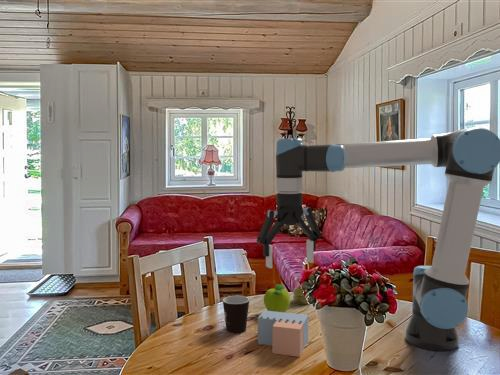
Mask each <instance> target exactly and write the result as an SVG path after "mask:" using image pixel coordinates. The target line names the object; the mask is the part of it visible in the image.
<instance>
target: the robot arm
mask: <svg viewBox="0 0 500 375" xmlns="http://www.w3.org/2000/svg"><path fill="white" fill-rule="evenodd" d="M275 150H276V151H275V169H276V170H275V174H276V176H275V178H276V179H275V180H276V181H275V182H276V183H275V184H276V187H275V188H276V189H275V190H276V192H277V193H276V194H275V195H276V210H272V209H271V210H270V209H267V210H266V216H265V219H264V222H263V224H262V226H261V229H260V231H259V233H258V236H257V238H256V243H258V244H261V245H262V254H263V256H264V257H265V267H266V268H268V269H273V245H272V244H271V243H272V241H273V240H274V238H275V237H276V236H277V234H278V233H279V232H280V231H281V229H282V228H283V227H284V225H286V226H288V225H297V226H299V228H300V229H301V230H302V232H303V233H304V234H305V235H306V237H307V238H308V239H306V262H308V263H309V264H314V261H315V260H314V257H315V256H314V255H315V254H314V252H316V248H317V246H316V242H317V241H318V240H319V239H321V238H322V233H321V231H320V229H319V226H318V224H317V221H316V220H315V218H314V215H313V209H312V207H308V206H305V207H304V208H303V204H304V202H303V201H304V200H303V198H304V197H303V193H302V192H303V184H304V183H303V172H321V173H322V172H325V173H326V172H327V173H328V172H331V173H335V172H343V171H344V170H345V169H355V168H360V169H361V168H376V167H378V168H379V167H396V166H417V165H431V166H433V167H434V168H445V171H444V176H445V178H446V179H447V180H448V186H447V191H446V195H445V201H444V205H443V206H444V207H443V211H442V215H441V220H440V223H439V224H440V225H439V230H438V235H437V239H436V244H435V248H434V253H433V258H432V263H431V265H418V266H415V267H414V269H413V274H412V277H413V280H412V303H411V304H412V306H411V307H412V312H411V316H410V318H409V322H408V323H407V326H406V329H405V340H406V341H407V342H408V343H409V344H411V345H412V346H414V347H417V348H421V349H423V350H429V351H437V352H438V351H439V352H444V351H443V350H446V351H452V350H454V348H455V349H456V348H458V346H459V341H460V340H459V334H458V332H457V331H458V330H457V327H458V326H459V325H461V324H463V322H464V321H465V320H466V318H467V317H468V313H469V304H468V301H467V295H468V290H469V285H470V280H469V279H468V277H467V275H466V271H467V265H468V261H469V258H470V257H469V256H470V252H471V247H472V242H473V238H474V234H475V229H476V224H477V220H478V214H479V210H480V206H481V200H482V196H483V193H484V188H485V187H486V186H488V185H490V184H491V183H492V180H493V176H494V171H495V169H496V167H498V165H499V164H500V138H499V136H498V135H497V134H495V132H493V131H492V130H490V129H487V128H484V127H481V126H478V127H477V126H472V127H471V126H470V127H468V128H462V129H457V130H455V131H451V132H446V133H440V134H432V135H431V137H429V138H428V137H427V138H416V139H415V138H414V139H399V140H384V141H383V140H381V141H368V142H354V143H339V144H338V143H336V144H316V145H315V144H314V145H308V144H307V145H306V144H303V139H302V138H279V139H278V140H277V141H276V148H275ZM303 215H304V217H305V219H306V220H307V221H306V222H307V224H308V225H309V226H308V225H307V224H306V223H305V220H304V219H303V218H302V216H303ZM276 216H277V218H275V217H276ZM274 219H276V220H275V221H274ZM273 222H274V224H273ZM272 225H273V226H272ZM451 349H452V350H451Z"/></svg>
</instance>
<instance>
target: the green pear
mask: <svg viewBox="0 0 500 375" xmlns="http://www.w3.org/2000/svg"><path fill="white" fill-rule="evenodd" d="M299 278H300V276H298V277H296V278H295V280H296V281H297V282H298V283H299ZM292 293H293V295H292V302H293V303H294V304H297V305H303V306H304V305H305V306H306V305H309V304H308V303H307V300H306V298H305V296H304V293H303V291H302V289H301V287H300V285H299V284H298V285H297V286H296V287H294V288H293V290H292Z"/></svg>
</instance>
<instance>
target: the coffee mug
mask: <svg viewBox="0 0 500 375" xmlns="http://www.w3.org/2000/svg"><path fill="white" fill-rule="evenodd" d="M222 305H223V313H224V314H223V315H224V321H225V322H224V323H225V329H226V332H227V333H229V334H234V335H235V334H243V333H245V332H246V330H247V323H248V317H249V316H248V315H249V306H250V298H249V297H247V296H244V295H229V296H225V297H223V299H222Z"/></svg>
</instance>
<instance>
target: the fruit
mask: <svg viewBox="0 0 500 375" xmlns="http://www.w3.org/2000/svg"><path fill="white" fill-rule="evenodd" d="M263 303H264V306H265V308H266V311H275V312H285V313H287V311H288V309H289V308H290V306H291V297H290V293H289V292H288V291H287V290H286V288H284V284H279V283H278V284H276V285H275V287H274V288H269V289H268V290H267V291H266V292H265V294H264V296H263Z"/></svg>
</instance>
